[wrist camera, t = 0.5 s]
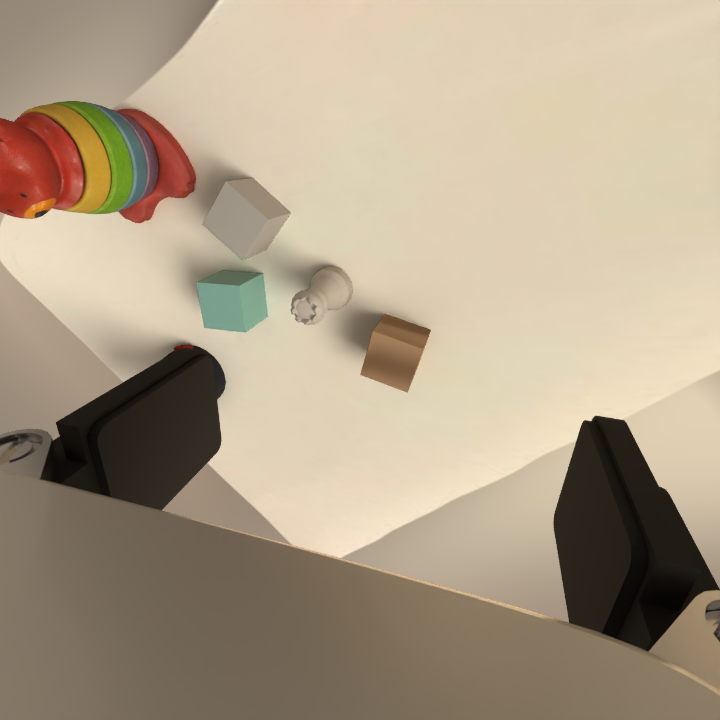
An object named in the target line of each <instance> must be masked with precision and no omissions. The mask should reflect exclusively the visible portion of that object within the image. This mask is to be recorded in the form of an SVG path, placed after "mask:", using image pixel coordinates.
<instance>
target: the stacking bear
mask: <svg viewBox="0 0 720 720" xmlns="http://www.w3.org/2000/svg"><path fill="white" fill-rule="evenodd" d="M195 180H196V178H195V173H194V169H193V167H192V165H191V163H190V161H189V159H188V157H187V156H186V154H185V152H184V151H183V149H182V148H181V146H180V145H179V143H178V142H177V141H176V139H175V138H174V137H173V136H172V135H171V134H170V133H169V131H168V130H166V129H165V128H164V127H163V126H162V125H161V124H160V123H159V122H157V121H156V120H155V119H154V118H152V117H150V116H149V115H147V114H145V113H143V112H141V111H138V110H134V109H123V110H119V111H114V110H110V109H108V108H106V107H103V106H99V105H96V104H92V103H87V102H78V101H67V102H57V103H53V104H49V105H43V106H38V107H34V108H32V109H29V110H27V111H25V112H24V113H22V114H21V116H20V117H18V118H17V119H16V120H15V121H14V122H12V121H9V120H6V119H1V118H0V212H2V213H4V214H7V215H10V216H13V217H18V218H27V219H33V218H38V217H41V216H43V215H44V214H46V213H47V212H48V211H50V210H51V208H53V209H58V210H63V211H69V212H78V213H87V214H107V213H112V212H116V211H119V212H120V214H121V215H122V216H123V217H124V218H125V219H128V220H130V221H132V222H135V223H142V222H144V221H145V220H149V219H150V218H151V217H152V215H153V212H154V210H155V207H156V205H157V204H158V203H159V202H160V201H161V200H162V199H164V198H166V197H175V198H185V197H187V196H188V194H189V193H191V192H193V191H194V184H195Z"/></svg>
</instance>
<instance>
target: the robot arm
mask: <svg viewBox="0 0 720 720" xmlns="http://www.w3.org/2000/svg"><path fill="white" fill-rule="evenodd" d="M56 425H57V428H58V431H59V434H60V437H58V438H57V439H55V440H52V437H51V435H50V434H49V433H48V432H46V431H43V430H40V429H24V430H16V431H12V432H8V433H4V434H1V435H0V720H720V589H719V587H718V585H717V584H716V582H715V580H714V578H713V576H712V574H711V572H710V570H709V568H708V567H707V565H706V563H705V561H704V559H703V557H702V555H701V553H700V551H699V550H698V548H697V546H696V544H695V542H694V540H693V538H692V536H691V534H690V533H689V531H688V529H687V527H686V525H685V523H684V521H683V519H682V517H681V516H680V514H679V512H678V510H677V508H676V506H675V504H674V502H673V500H672V499H671V497H670V495H669V493H668V492H667V491H666V490H665V489H663V488H662V487H659V486H658V484H657V482H656V480H655V478H654V476H653V474H652V472H651V471H650V468H649V466H648V464H647V462H646V461H645V459H644V457H643V455H642V453H641V451H640V449H639V447H638V445H637V443H636V441H635V439H634V437H633V435H632V433H631V431H630V429H629V427H628V425H627V423H626V422H625V421H624V420H619V419H613V418H607V417H601V416H595V417H594V418H593V419H592V421H586V420H585V421H583V423H582V425H581V428H580V431H579V435H578V438H577V441H576V444H575V448H574V451H573V454H572V458H571V461H570V464H569V467H568V471H567V474H566V477H565V480H564V484H563V487H562V490H561V494H560V497H559V500H558V504H557V507H556V510H555V514H554V532H555V538H556V544H557V550H558V556H559V562H560V568H561V575H562V580H563V587H564V593H565V599H566V605H567V611H568V618H569V623H568V622H564V621H561V620H558V619H555V618H552V617H549V616H545V615H542V614H539V613H536V612H532V611H529V610H526V609H523V608H520V607H516V606H512V605H508V604H504V603H501V602H497V601H494V600H490V599H487V598H483V597H479V596H476V595H472V594H469V593H465V592H461V591H458V590H454V589H450V588H447V587H443V586H440V585H436V584H432V583H429V582H425V581H421V580H417V579H414V578H410V577H407V576H403V575H399V574H396V573H392V572H388V571H385V570H381V569H377V568H374V567H370V566H366V565H363V564H359V563H355V562H352V561H348V560H345V559H341V558H337V557H334V556H330V555H326V554H323V553H319V552H315V551H312V550H308V549H304V548H300V547H297V546H293V545H289V544H286V543H282V542H278V541H274V540H271V539H267V538H263V537H259V536H256V535H252V534H248V533H244V532H240V531H237V530H233V529H229V528H226V527H221V526H218V525H214V524H211V523H207V522H203V521H199V520H196V519H192V518H188V517H184V516H180V515H176V514H173V513H169V512H165V511H161V510H162V509H163V508H164V507H165V506H166V505H167V504H168V503H169V502H170V501H171V500H172V499H173V498H174V497H175V496H176V495H177V493H179V491H180V490H181V489H182V488H183V487H184V486H185V485H186V484H187V483H188V482H189V481H190V480H191V479H192V478H193V477H194V476H195V475H196V474H197V473H198V472H199V471H200V470H201V469H202V468H203V467H204V465H205V464H206V463H207V462H208V461H209V460H210V459H211V458H212V457H213V456H214V455H215V454H216V453H217V452H218V450H219V448H220V445H221V431H220V422H219V413H218V404H217V395H216V386H215V377H214V368H213V361H212V359H211V358H210V357H208V355H207V353H206V352H205V351H203V350H197V349H191V348H185V347H184V348H181V349H179V350H177V351H176V352H174V353H172V354H171V355H169V356H167V357H166V358H164V359H162V360H160V361H159V362H157V363H155V364H154V365H152V366H150V367H149V368H147V369H145V370H144V371H142V372H140V373H138V374H137V375H135V376H133V377H132V378H130V379H128V380H127V381H125V382H123V383H122V384H120V385H118V386H117V387H115V388H113V389H111V390H110V391H108V392H106V393H105V394H103V395H101V396H100V397H98V398H96V399H95V400H93V401H91V402H90V403H88V404H86V405H84V406H83V407H81V408H79V409H78V410H76V411H74V412H73V413H71V414H69V415H67V416H66V417H64V418H62V419H61V420H59V421H58V422H56Z"/></svg>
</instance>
